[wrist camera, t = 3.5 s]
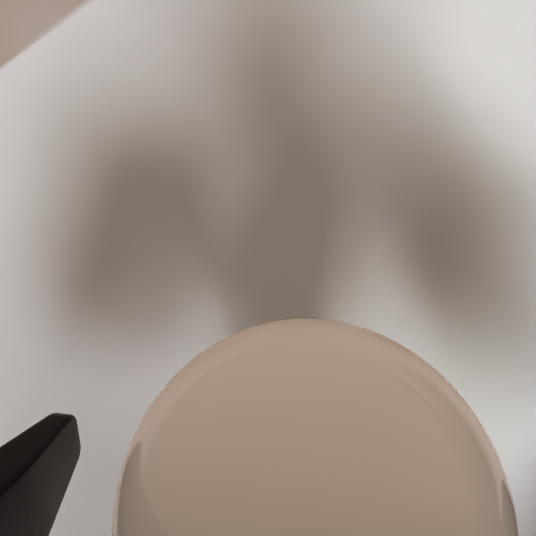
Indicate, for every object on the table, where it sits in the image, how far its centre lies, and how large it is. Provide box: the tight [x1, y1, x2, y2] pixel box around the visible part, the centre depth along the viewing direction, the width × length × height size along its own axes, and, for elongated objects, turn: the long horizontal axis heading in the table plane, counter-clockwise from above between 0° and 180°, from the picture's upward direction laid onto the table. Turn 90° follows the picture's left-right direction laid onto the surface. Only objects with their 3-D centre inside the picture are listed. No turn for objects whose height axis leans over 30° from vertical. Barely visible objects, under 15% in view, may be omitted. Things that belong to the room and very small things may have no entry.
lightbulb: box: [112, 318, 519, 536], centre depth 10 cm, size 6×6×11 cm
